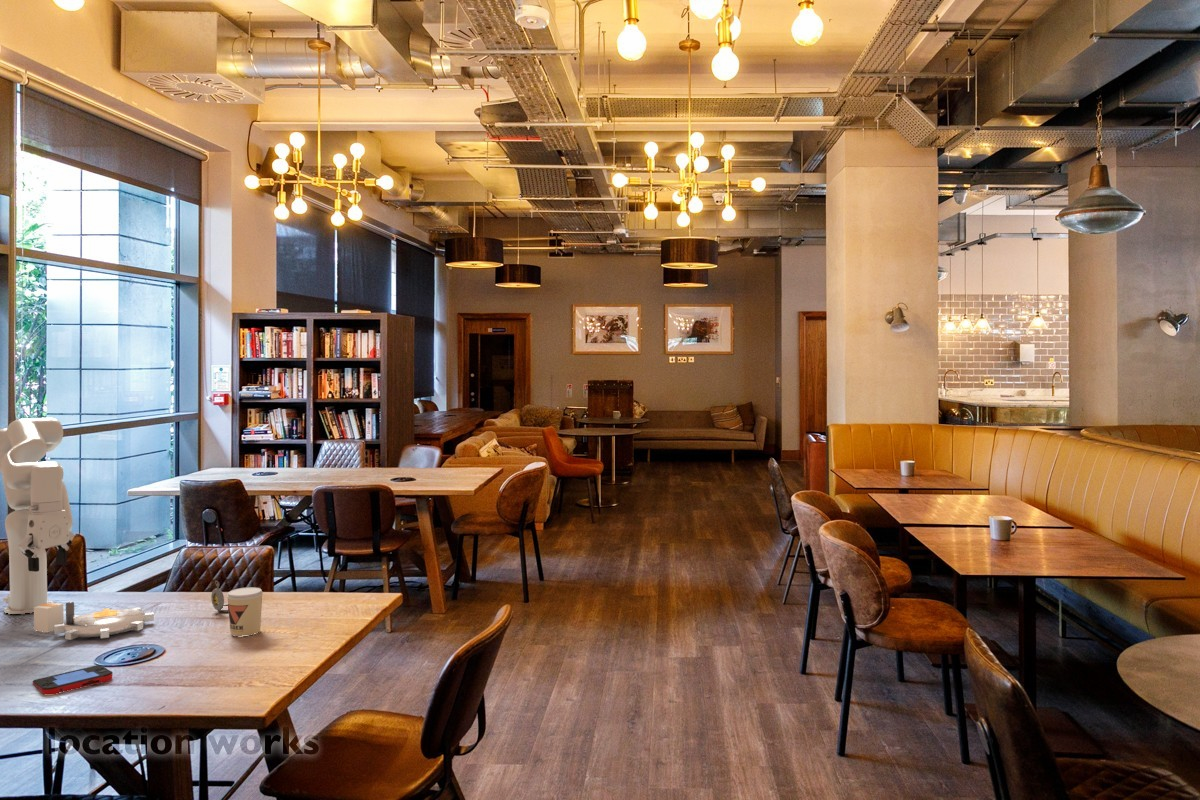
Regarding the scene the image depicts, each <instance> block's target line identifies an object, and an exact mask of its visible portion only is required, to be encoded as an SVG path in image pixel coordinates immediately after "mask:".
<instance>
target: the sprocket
mask: <svg viewBox="0 0 1200 800" xmlns="http://www.w3.org/2000/svg"><path fill="white" fill-rule="evenodd" d="M154 617H155V616H154V611H153V612H144V611H143V608H142V607H133V608H131V609H130V608H129V609H125V608H124V609H111V608H109V607H108V608H103V609H101V611H95V612H89V613H86V614H82V615H78V614H77V615H76V614H75V602H74V601H69V602H66V603H65V623H64V624H58V625H55V626H54V631H53V632H54V635H57V634H64V639H65V640H70V641H71V640H75V639H77V638H95V637H96V638H97V637H99V638H100V639H108V638H110V636H111V635H116V634H117V635H118V634H122V633H126V632H128V631H137V632H138V631H140V630H143V629H144V624H145V623H146V622H153V621H155V620H154V619H155V618H154Z"/></svg>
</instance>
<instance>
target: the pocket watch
mask: <svg viewBox="0 0 1200 800" xmlns="http://www.w3.org/2000/svg"><path fill="white" fill-rule="evenodd" d="M216 582H217V583H216ZM214 583H215V585H216V588H214V589H213V590H212V591H211V596H210V598H211V603H212V607H213V608H214V609H215V610H217V612H220V611H229V610H221V609H222V608H223V606H228V603H227V604H225V597H224V593H223V591H222V590H221V588H219V587H220V585H221V584H220V582H219V581H218V580H214Z"/></svg>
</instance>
